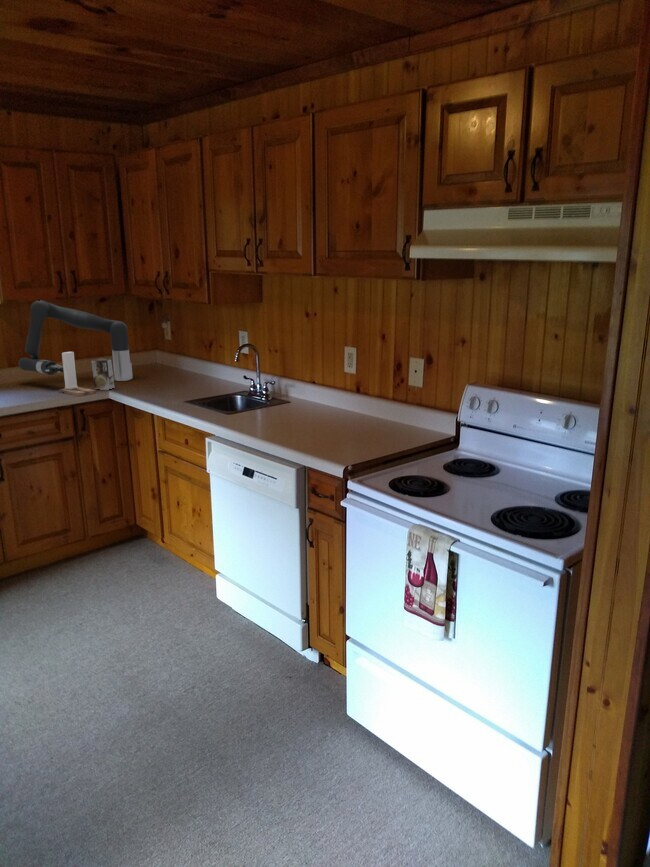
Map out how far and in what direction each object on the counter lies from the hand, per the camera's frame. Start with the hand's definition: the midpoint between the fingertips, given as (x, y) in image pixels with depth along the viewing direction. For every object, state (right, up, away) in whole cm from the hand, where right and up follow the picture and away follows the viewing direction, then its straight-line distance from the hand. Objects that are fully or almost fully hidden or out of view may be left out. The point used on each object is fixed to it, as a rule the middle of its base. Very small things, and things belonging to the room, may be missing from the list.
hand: (66, 370), depth 348 cm
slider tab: (+2, -10, +1) cm, 10 cm away
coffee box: (+18, -10, +8) cm, 22 cm away
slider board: (+7, -12, -1) cm, 14 cm away
